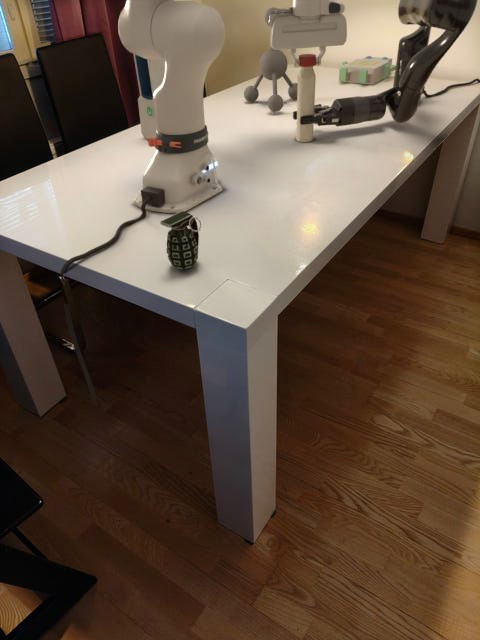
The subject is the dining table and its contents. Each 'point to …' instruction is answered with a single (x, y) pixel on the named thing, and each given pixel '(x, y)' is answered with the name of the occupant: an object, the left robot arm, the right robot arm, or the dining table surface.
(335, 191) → the dining table surface
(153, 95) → the left robot arm
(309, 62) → the cap
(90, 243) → the dining table surface
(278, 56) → the molecular model
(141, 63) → the electronic device
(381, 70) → the decorative block
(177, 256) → the grenade
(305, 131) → the bottle
